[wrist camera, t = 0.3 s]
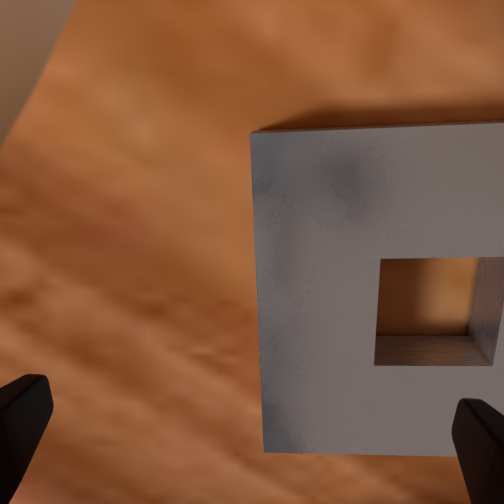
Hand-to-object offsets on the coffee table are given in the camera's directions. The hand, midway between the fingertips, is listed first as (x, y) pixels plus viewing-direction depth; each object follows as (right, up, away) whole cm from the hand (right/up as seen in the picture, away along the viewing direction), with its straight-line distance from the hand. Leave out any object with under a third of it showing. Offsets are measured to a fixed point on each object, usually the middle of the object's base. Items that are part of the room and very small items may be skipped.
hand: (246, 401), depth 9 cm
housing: (+10, +1, +14) cm, 17 cm away
